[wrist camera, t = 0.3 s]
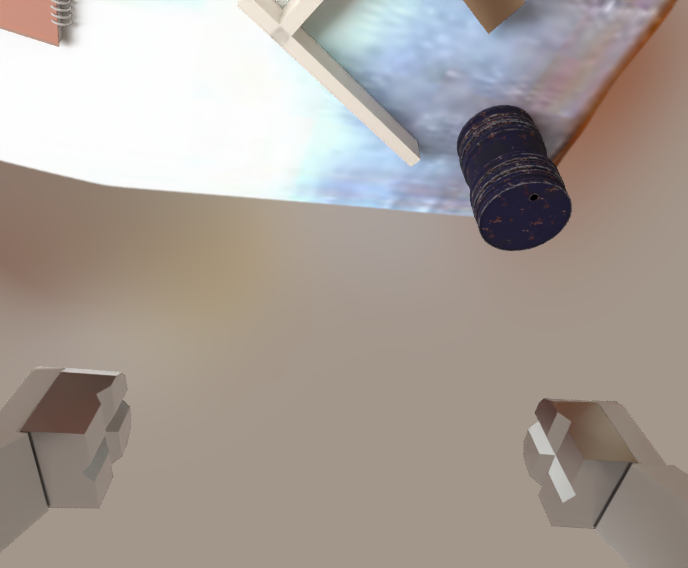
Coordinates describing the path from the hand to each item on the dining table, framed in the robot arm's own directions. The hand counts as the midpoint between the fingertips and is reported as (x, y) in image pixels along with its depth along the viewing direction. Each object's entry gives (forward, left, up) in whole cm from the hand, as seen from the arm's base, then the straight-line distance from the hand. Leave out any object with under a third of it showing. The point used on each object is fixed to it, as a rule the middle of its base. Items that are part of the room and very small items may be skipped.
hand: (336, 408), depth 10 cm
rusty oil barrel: (+5, +33, -51) cm, 61 cm away
